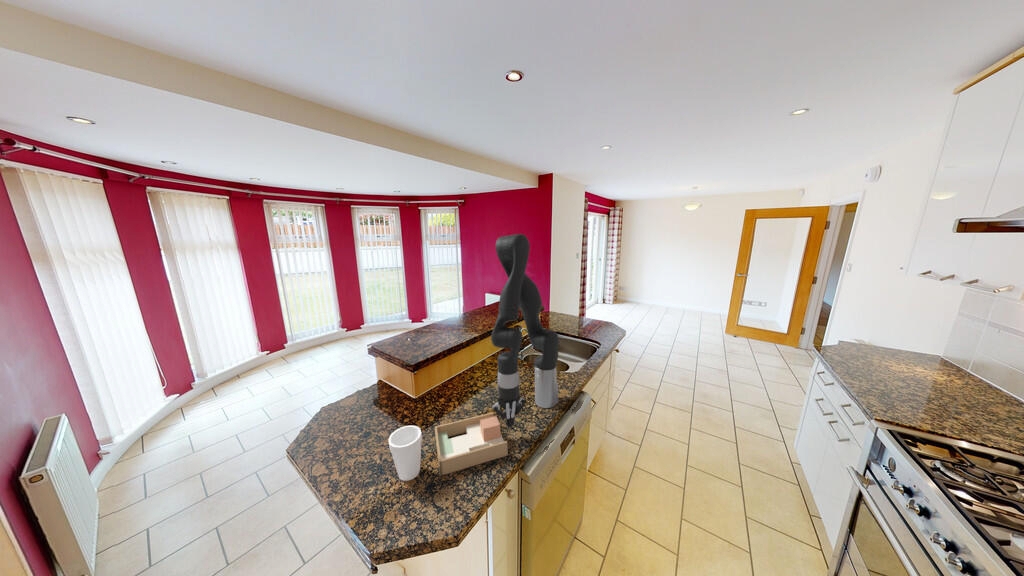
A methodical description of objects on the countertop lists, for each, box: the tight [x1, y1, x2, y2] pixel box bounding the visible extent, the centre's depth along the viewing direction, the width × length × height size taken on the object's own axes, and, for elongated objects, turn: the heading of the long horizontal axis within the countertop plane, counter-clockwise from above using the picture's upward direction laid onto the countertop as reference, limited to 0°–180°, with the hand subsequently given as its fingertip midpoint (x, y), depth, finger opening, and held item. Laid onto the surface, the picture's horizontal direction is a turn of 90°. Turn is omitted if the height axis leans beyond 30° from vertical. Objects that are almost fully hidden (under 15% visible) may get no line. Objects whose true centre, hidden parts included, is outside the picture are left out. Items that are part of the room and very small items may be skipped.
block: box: [480, 415, 502, 442], centre depth 99 cm, size 6×5×5 cm
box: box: [434, 412, 509, 477], centre depth 97 cm, size 22×17×5 cm
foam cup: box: [388, 425, 423, 482], centre depth 86 cm, size 10×9×13 cm
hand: (509, 425), depth 101 cm, fingers closed
